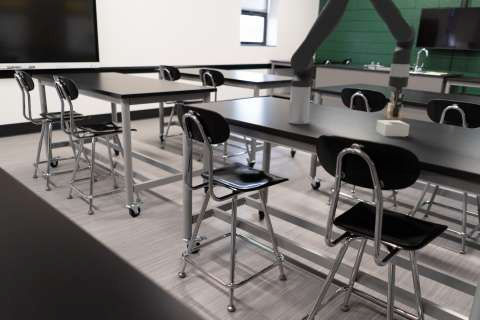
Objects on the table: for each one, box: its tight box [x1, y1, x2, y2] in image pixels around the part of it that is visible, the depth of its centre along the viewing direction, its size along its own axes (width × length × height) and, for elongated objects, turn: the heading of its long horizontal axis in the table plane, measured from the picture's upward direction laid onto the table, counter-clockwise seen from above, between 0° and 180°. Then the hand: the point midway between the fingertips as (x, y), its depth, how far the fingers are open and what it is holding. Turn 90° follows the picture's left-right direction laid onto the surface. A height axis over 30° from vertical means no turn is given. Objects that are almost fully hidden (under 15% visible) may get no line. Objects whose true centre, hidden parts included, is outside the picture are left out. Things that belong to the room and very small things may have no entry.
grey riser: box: [375, 119, 410, 137], centre depth 172 cm, size 10×10×5 cm
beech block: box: [386, 102, 404, 120], centre depth 170 cm, size 5×5×6 cm
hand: (393, 115), depth 170 cm, fingers closed on beech block, 5 cm apart
